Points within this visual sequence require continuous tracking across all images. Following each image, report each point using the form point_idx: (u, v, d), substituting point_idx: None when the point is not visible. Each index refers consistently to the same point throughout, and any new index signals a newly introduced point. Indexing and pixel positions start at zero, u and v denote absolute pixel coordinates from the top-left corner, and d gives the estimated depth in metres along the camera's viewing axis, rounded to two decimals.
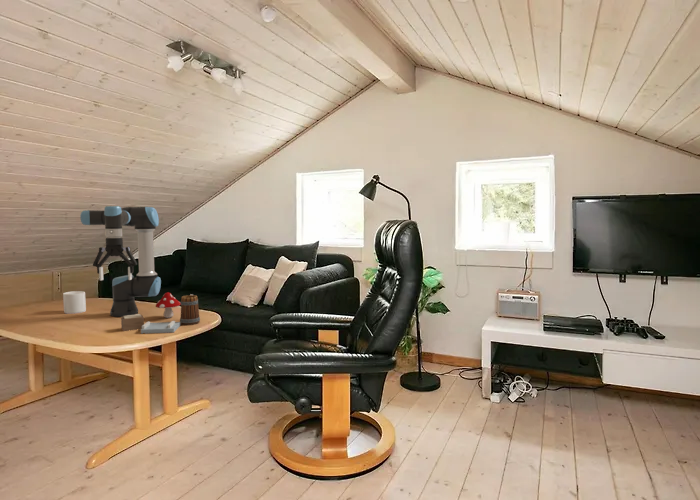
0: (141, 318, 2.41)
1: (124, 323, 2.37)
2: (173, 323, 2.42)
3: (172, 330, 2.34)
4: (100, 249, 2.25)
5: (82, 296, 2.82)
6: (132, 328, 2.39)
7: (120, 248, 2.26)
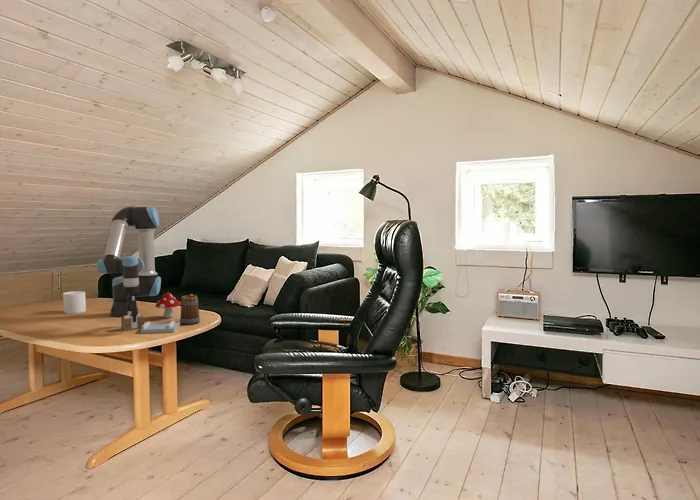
0: (141, 318, 2.41)
1: (124, 323, 2.37)
2: (173, 323, 2.42)
3: (172, 330, 2.34)
4: (127, 295, 2.46)
5: (82, 296, 2.82)
6: None
7: (130, 297, 2.38)
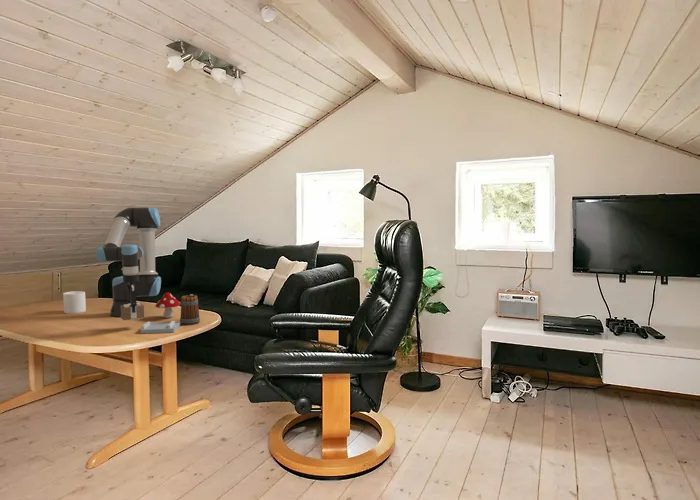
0: (141, 307, 2.42)
1: (124, 312, 2.37)
2: (173, 323, 2.42)
3: (172, 330, 2.34)
4: (127, 285, 2.45)
5: (82, 296, 2.82)
6: None
7: (129, 285, 2.38)
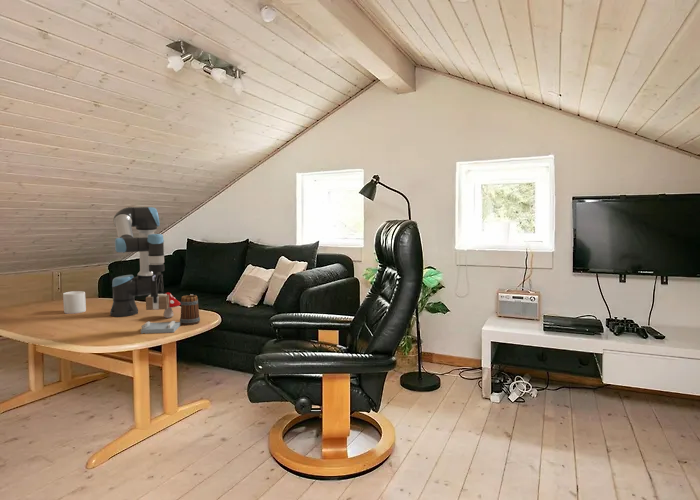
0: (164, 298, 2.36)
1: (147, 301, 2.34)
2: (173, 323, 2.42)
3: (172, 330, 2.34)
4: None
5: (82, 296, 2.82)
6: None
7: None
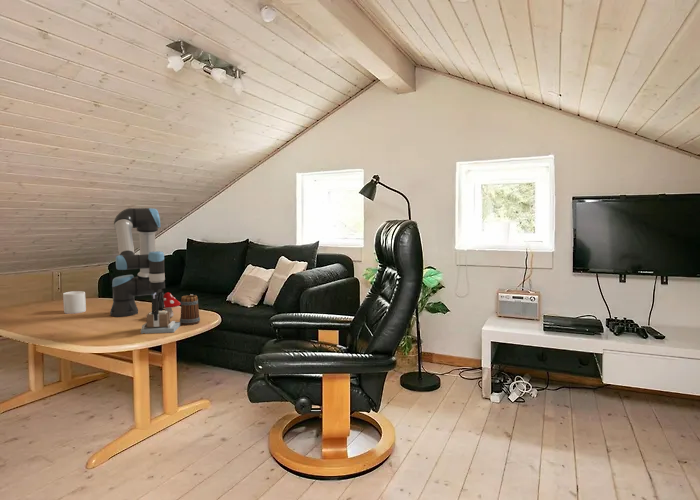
0: (164, 315, 2.36)
1: (148, 319, 2.35)
2: (173, 323, 2.42)
3: (172, 330, 2.34)
4: None
5: (82, 296, 2.82)
6: None
7: None
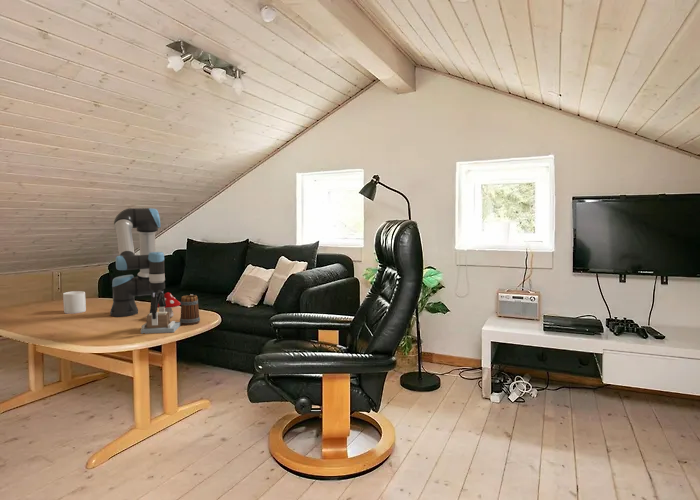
0: (164, 316, 2.36)
1: (147, 320, 2.35)
2: (173, 323, 2.42)
3: (172, 330, 2.34)
4: None
5: (82, 296, 2.82)
6: (155, 325, 2.36)
7: None
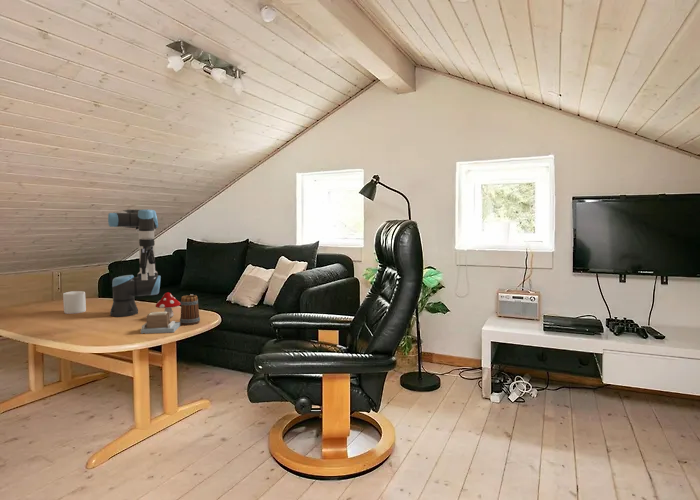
0: (164, 316, 2.36)
1: (147, 320, 2.35)
2: (173, 323, 2.42)
3: (172, 330, 2.34)
4: None
5: (82, 296, 2.82)
6: (155, 325, 2.36)
7: None
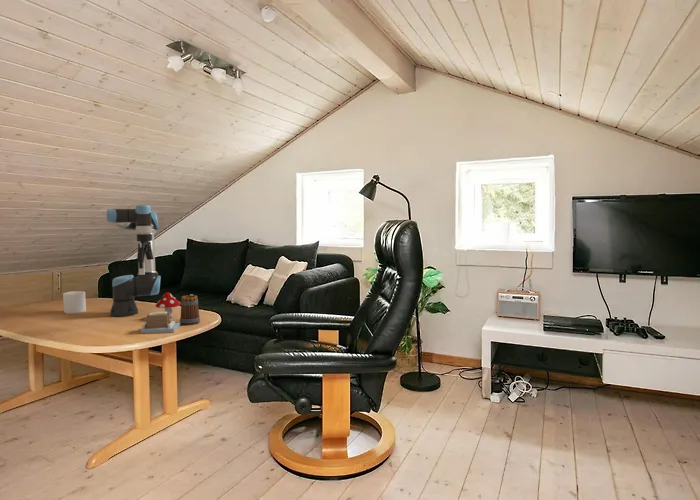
0: (164, 316, 2.36)
1: (147, 320, 2.35)
2: (173, 323, 2.42)
3: (172, 330, 2.34)
4: None
5: (82, 296, 2.82)
6: (155, 325, 2.36)
7: None
